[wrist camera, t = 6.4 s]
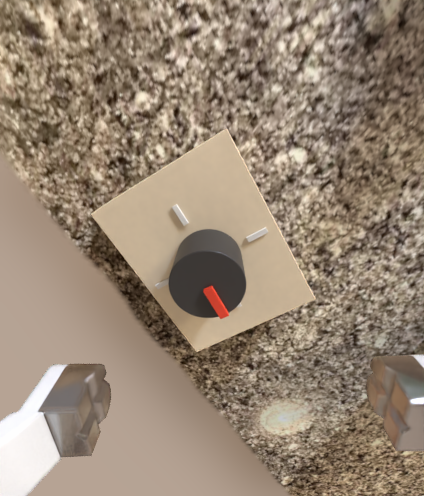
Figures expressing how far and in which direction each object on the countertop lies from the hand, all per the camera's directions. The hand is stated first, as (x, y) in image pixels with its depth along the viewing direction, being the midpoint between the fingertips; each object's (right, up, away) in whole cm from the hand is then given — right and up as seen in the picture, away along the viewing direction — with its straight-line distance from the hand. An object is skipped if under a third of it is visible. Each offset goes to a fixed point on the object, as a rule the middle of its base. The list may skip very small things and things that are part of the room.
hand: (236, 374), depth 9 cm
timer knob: (-1, +3, +11) cm, 11 cm away
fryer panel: (-1, +4, +13) cm, 14 cm away
